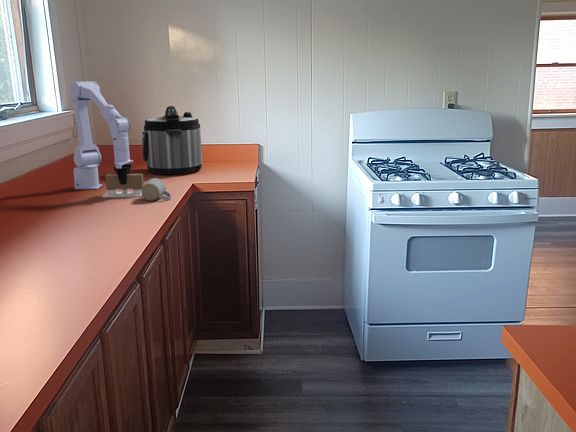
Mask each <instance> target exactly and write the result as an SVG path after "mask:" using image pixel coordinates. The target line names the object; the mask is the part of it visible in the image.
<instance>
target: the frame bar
mask: <svg viewBox="0 0 576 432" xmlns="http://www.w3.org/2000/svg"><path fill="white" fill-rule="evenodd" d="M104 177H105V178H104V179H105V188H106V190H108V189H117V190H122V189H128V190H133V189H142V187H143V185H144V184H145V183H144V173H129V174H127V182H126V184H125V185H121V184H120V182H119V179H118V176H117V173H108V174H106V175H105V176H104Z"/></svg>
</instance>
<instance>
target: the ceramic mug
mask: <svg viewBox="0 0 576 432" xmlns="http://www.w3.org/2000/svg"><path fill="white" fill-rule="evenodd" d="M141 193H142V196H143V197H142V198H143V199H144V200H146V201H149V202H153V201H156V200H158V199H161V200H164V201H170V200H171V198H172V193H170V192H169V191H167V190H166V185H165V182H163V180H162V179H159V178H157V177H154V178H150V179H149V180H148V181H147V182H145V183H144V185H143V187H142V190H141Z"/></svg>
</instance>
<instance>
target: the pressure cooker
mask: <svg viewBox="0 0 576 432" xmlns="http://www.w3.org/2000/svg"><path fill="white" fill-rule="evenodd" d="M199 121H200V120H199V118H195V117H193V115H192V113H191V112H190V111H185V112H184V113H183V115H182V116H180V115H179V114H178V112H177V109H176V107H175V106H173V105H168V106H167V107H166V109H165V112H164V115H163V116H159V117H153V118H147V119H145V120H144V125H143V131H142V132H141V135H142V137H141V138H142V143H141V144H142V159H143V161H144V162H146V168H147V170H148V172H150V173H152V174H158V175H175V174H188V173H189V174H190V173H194V172H197V171H201V169H202V166H203V151H202V138H201V137H202V136H201V135H202V134H201V133H202V131H201V124H200V123H199Z"/></svg>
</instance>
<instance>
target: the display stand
mask: <svg viewBox="0 0 576 432" xmlns="http://www.w3.org/2000/svg"><path fill="white" fill-rule="evenodd" d="M141 190H142V189H132V191H129V189H121V191H118V189H106V192H105V193H104V194H103V195H102V196H101V198H102V199H103V198H144V197H143V196H142V193H141Z"/></svg>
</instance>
